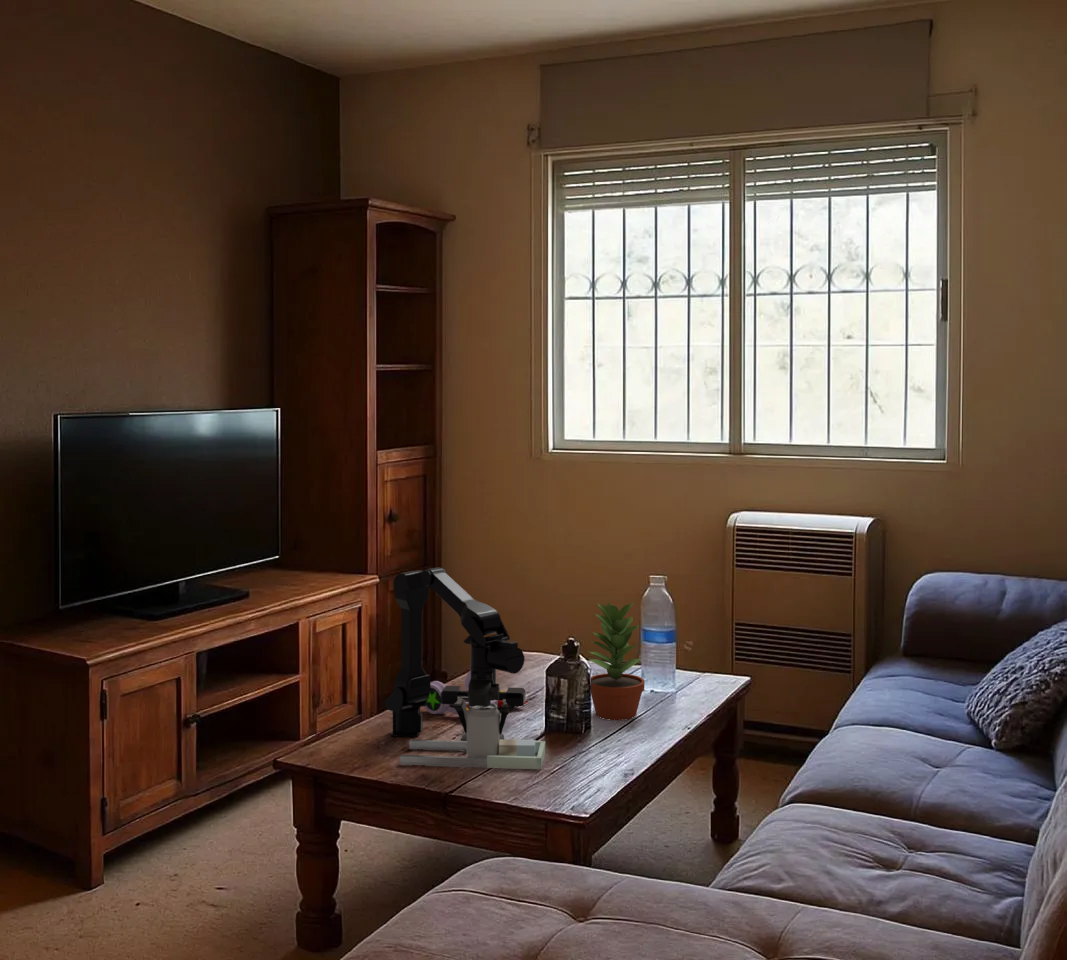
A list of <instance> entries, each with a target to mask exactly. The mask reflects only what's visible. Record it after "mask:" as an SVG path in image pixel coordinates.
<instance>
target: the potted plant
mask: <svg viewBox="0 0 1067 960" xmlns="http://www.w3.org/2000/svg"><path fill="white" fill-rule="evenodd" d="M596 603H597V606H598V608H599V609H600V610H601V612H602V613H603V614H597V613H595V612H594V614H595V616H596V617H597V619H599V620H600V622H601V624H600V625H601V629H602V632H603V633H604V634H602V633H600V632H593V631H592V633H593V634H594V635H595V636H596V637H597V638H598V639H599V640H600V641H602V642H603V643H601V642H599V641H591V643H592V644H594V645H596V646H598V647H600V648H602V649H604V650H605V651H607V652H609V654H610V655H611V656H610V657H609V656H606V655H605V654H603V653H600V652H597V651H589V650H587V652H588V653H590V654H592V655H593V656H595V657H597V658H598V659H596V658H588V657H587V658H588V659H589V660H590V662H592V663H594V664H596V665H598V666H599V667H601V668H603V669H605V670H606V673H600V674H596V675H591V676H590V677H591V692H590V695H591V696H590V697H591V701H592V703H593V708H594V712H595V715H596V716H597V717H598V716H599V717H598V718H600V717H601V718H600V719H602V718H604V719H603V720H606V719H610V720H609V721H626V720H625V719H628V720H631V719H630V718H632V717H634V716H635V715H636V716H637V713H638V709H639V705H640V700H641V698H642V694H643V692H644V691H645V679H644V678H642V676H641V677H640V676H638V675H634V674H629V673H624V672H626V671H627V670H629V669H630V668H632V667H633V666H634V665H636V664H637V663H639V662H640V660H641V659H642V657H640V658H632V659H629V660H628V661H626V662H624V658H625V655H626V654H628V653H629V651H631V650H632V649H634V648H635V647H636V646H637V643H636V644H632V645H630V644H629V643H628V642H629V640H630V638H631V637H632V634H633V632H634V631H635V630H636V629H638V628H639V627H641V625H638V624H637V625H633V623H632V622H633V621H634V619H633V617H634V615H632V616H631V617H625V616H626V615H627V613H628V612H629V611H630V609H631V607H632V606H633V604H634V602H632V603H631V604H630V603H629V604H625V605H624V606H622V608H621V609H620V610H619V608H618V607H617V606H616V605H613V604H610V603H609V601H608V602H607V604H606V605H605V604H599V603H598V601H596ZM603 660H604V661H603ZM636 716H635V717H636ZM635 717H634V718H635ZM632 719H633V718H632Z"/></svg>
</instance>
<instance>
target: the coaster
mask: <svg viewBox="0 0 1067 960" xmlns="http://www.w3.org/2000/svg"><path fill="white" fill-rule="evenodd" d="M500 740H505V735H504V734H503V732H502V733H501V734H500ZM461 741H467V733H465V732H464V733H463V734H462V736H461Z"/></svg>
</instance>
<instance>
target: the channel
mask: <svg viewBox="0 0 1067 960" xmlns="http://www.w3.org/2000/svg"><path fill="white" fill-rule="evenodd" d="M408 749H409V750H417V749H420V750H421V749H423V750H424V751H452V752H453V751H461V752H462V751H463V752H467V741H462V740H443V739H436V740H435V739H409V748H408ZM423 750H422V751H423ZM400 764H404V765H403V766H412V765H425V766H424V767H450V768H451V767H453V768H454V767H457V768H481V769H482V768H483V769H485V768H487V757H469V756H454V755H453V756H452V755H451V756H449V755H448V756H447V755H442V756H441V755H418V754H415V755H414V754H401V755H400V756H399V765H400Z"/></svg>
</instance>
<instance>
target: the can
mask: <svg viewBox="0 0 1067 960" xmlns="http://www.w3.org/2000/svg"><path fill="white" fill-rule="evenodd" d="M500 719H501V711H500V710H499V708H498V709H497V705H496V704H494V703H490V706H488V707H483V706H474V707H473V706H470V709H469V710H468V711H467V751H466V755H467V757H487V756H488V755H498V756H499V742H500V734H499V727H500Z"/></svg>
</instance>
